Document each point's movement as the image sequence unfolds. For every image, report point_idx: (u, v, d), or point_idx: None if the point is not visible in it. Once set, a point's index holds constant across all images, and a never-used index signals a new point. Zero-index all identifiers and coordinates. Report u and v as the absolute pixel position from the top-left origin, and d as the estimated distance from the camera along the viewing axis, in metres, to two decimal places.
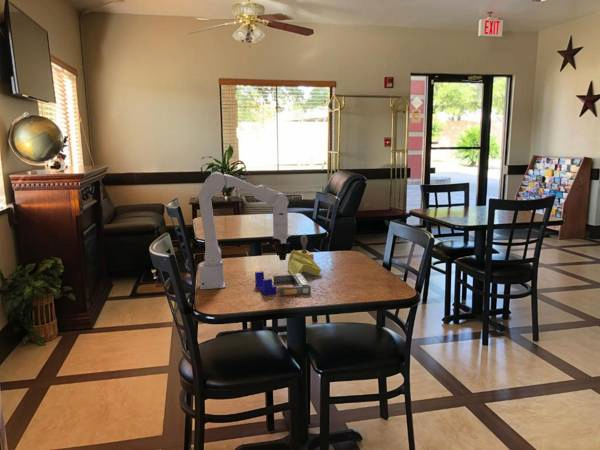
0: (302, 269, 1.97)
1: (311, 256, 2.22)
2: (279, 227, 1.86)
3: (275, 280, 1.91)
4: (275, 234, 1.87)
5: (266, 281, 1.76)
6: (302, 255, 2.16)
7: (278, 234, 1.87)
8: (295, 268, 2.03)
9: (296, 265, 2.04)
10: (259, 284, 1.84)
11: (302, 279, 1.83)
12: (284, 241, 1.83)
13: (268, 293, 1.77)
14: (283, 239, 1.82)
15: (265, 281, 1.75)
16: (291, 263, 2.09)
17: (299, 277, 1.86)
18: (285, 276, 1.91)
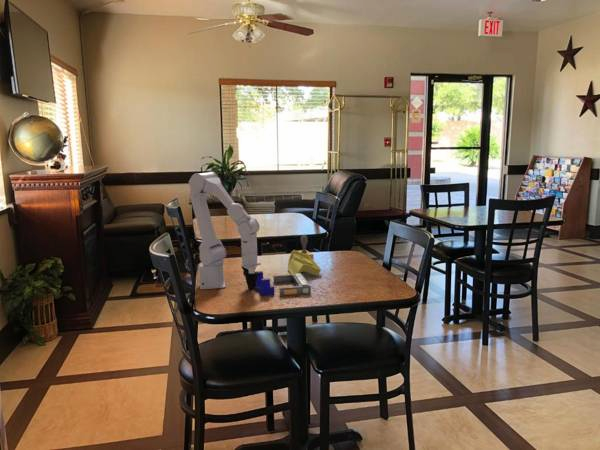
0: (302, 269, 1.97)
1: (311, 256, 2.22)
2: (247, 256, 1.76)
3: (275, 280, 1.91)
4: (243, 263, 1.78)
5: (264, 281, 1.75)
6: (302, 255, 2.16)
7: (246, 263, 1.77)
8: (295, 268, 2.03)
9: (296, 265, 2.04)
10: (258, 284, 1.83)
11: (302, 279, 1.83)
12: (252, 271, 1.73)
13: (266, 293, 1.76)
14: (251, 269, 1.73)
15: (263, 281, 1.75)
16: (291, 263, 2.10)
17: (299, 277, 1.86)
18: (285, 276, 1.91)
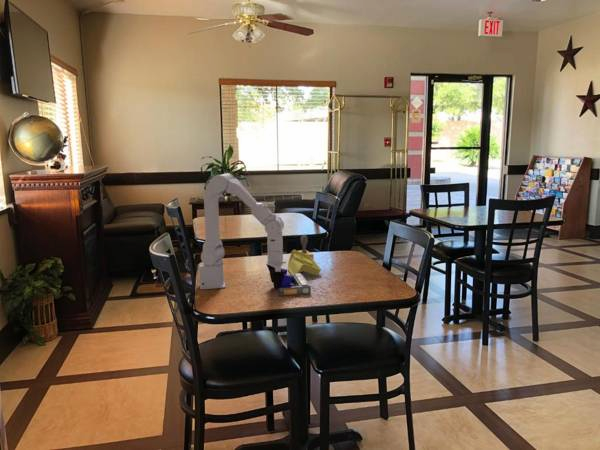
0: (301, 269, 1.97)
1: (311, 256, 2.22)
2: (273, 254, 1.78)
3: None
4: (269, 261, 1.79)
5: (286, 277, 1.77)
6: (303, 255, 2.16)
7: (272, 261, 1.79)
8: (295, 268, 2.04)
9: (296, 265, 2.05)
10: None
11: (302, 279, 1.83)
12: (278, 269, 1.75)
13: None
14: (277, 267, 1.74)
15: (285, 276, 1.77)
16: (291, 263, 2.10)
17: (299, 277, 1.86)
18: None
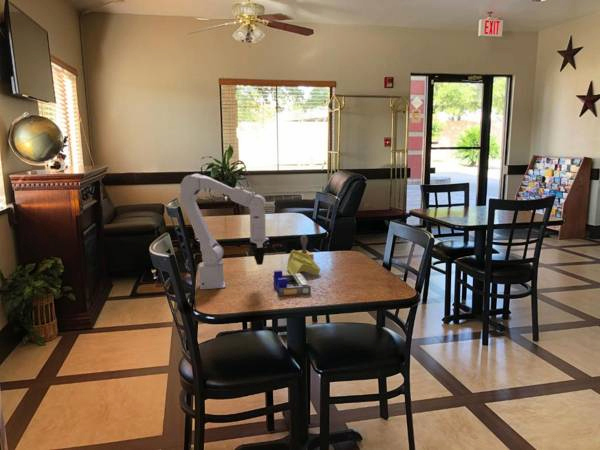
0: (301, 268, 1.98)
1: (311, 256, 2.22)
2: (256, 231, 1.80)
3: None
4: (252, 238, 1.82)
5: (281, 280, 1.76)
6: (302, 255, 2.17)
7: (255, 238, 1.81)
8: (294, 267, 2.04)
9: (295, 264, 2.05)
10: (276, 283, 1.85)
11: (302, 279, 1.83)
12: (260, 245, 1.77)
13: None
14: (259, 243, 1.77)
15: (280, 280, 1.76)
16: (291, 262, 2.10)
17: (299, 277, 1.86)
18: (285, 276, 1.91)
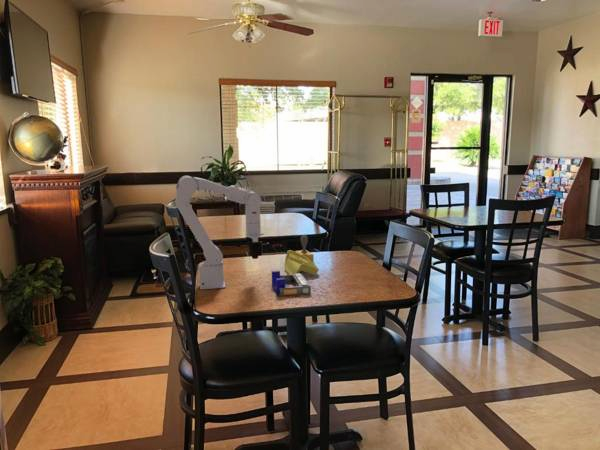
0: (300, 268, 1.98)
1: (311, 256, 2.22)
2: (251, 226, 1.87)
3: None
4: (247, 233, 1.88)
5: (279, 280, 1.76)
6: (298, 255, 2.17)
7: (250, 233, 1.87)
8: (292, 268, 2.04)
9: (293, 265, 2.05)
10: (274, 283, 1.84)
11: (302, 279, 1.83)
12: (256, 240, 1.83)
13: None
14: (255, 238, 1.83)
15: (278, 280, 1.76)
16: (288, 263, 2.10)
17: (299, 277, 1.86)
18: (285, 276, 1.91)
